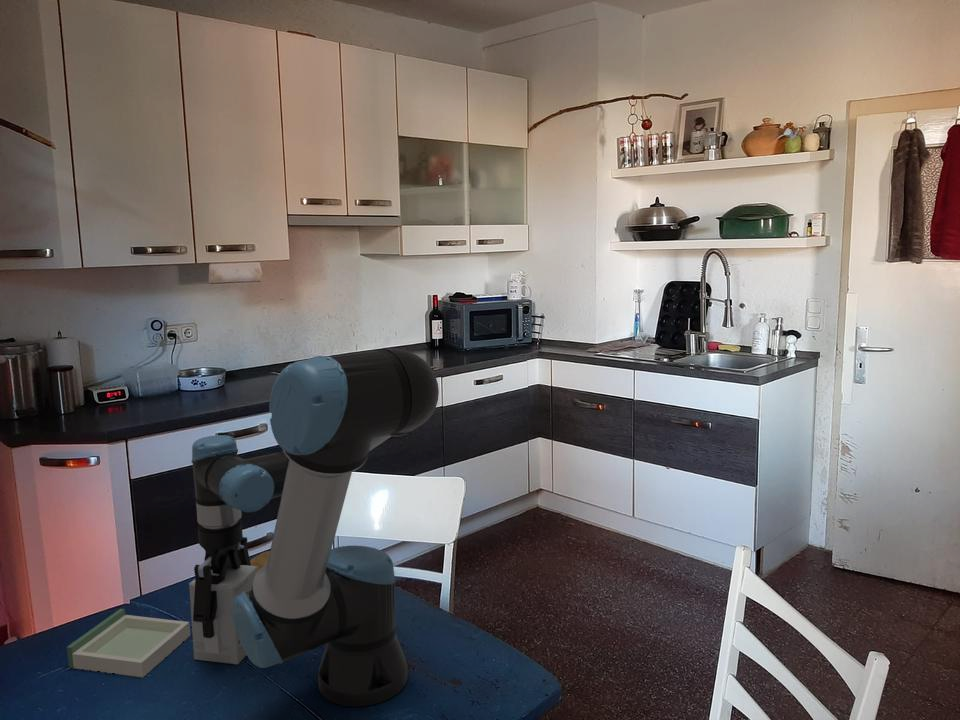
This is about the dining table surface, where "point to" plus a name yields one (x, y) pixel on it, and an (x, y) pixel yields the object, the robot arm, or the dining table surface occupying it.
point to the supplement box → (224, 616)
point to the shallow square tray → (127, 644)
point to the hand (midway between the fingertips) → (227, 637)
